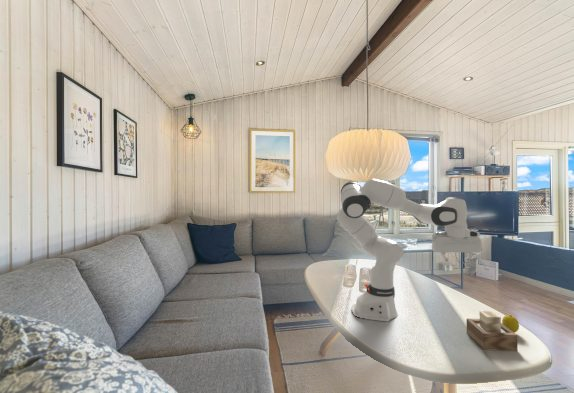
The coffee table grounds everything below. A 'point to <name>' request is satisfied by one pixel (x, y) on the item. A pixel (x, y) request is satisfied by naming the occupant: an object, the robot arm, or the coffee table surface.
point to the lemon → (510, 323)
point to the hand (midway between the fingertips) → (456, 261)
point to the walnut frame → (492, 337)
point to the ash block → (490, 321)
